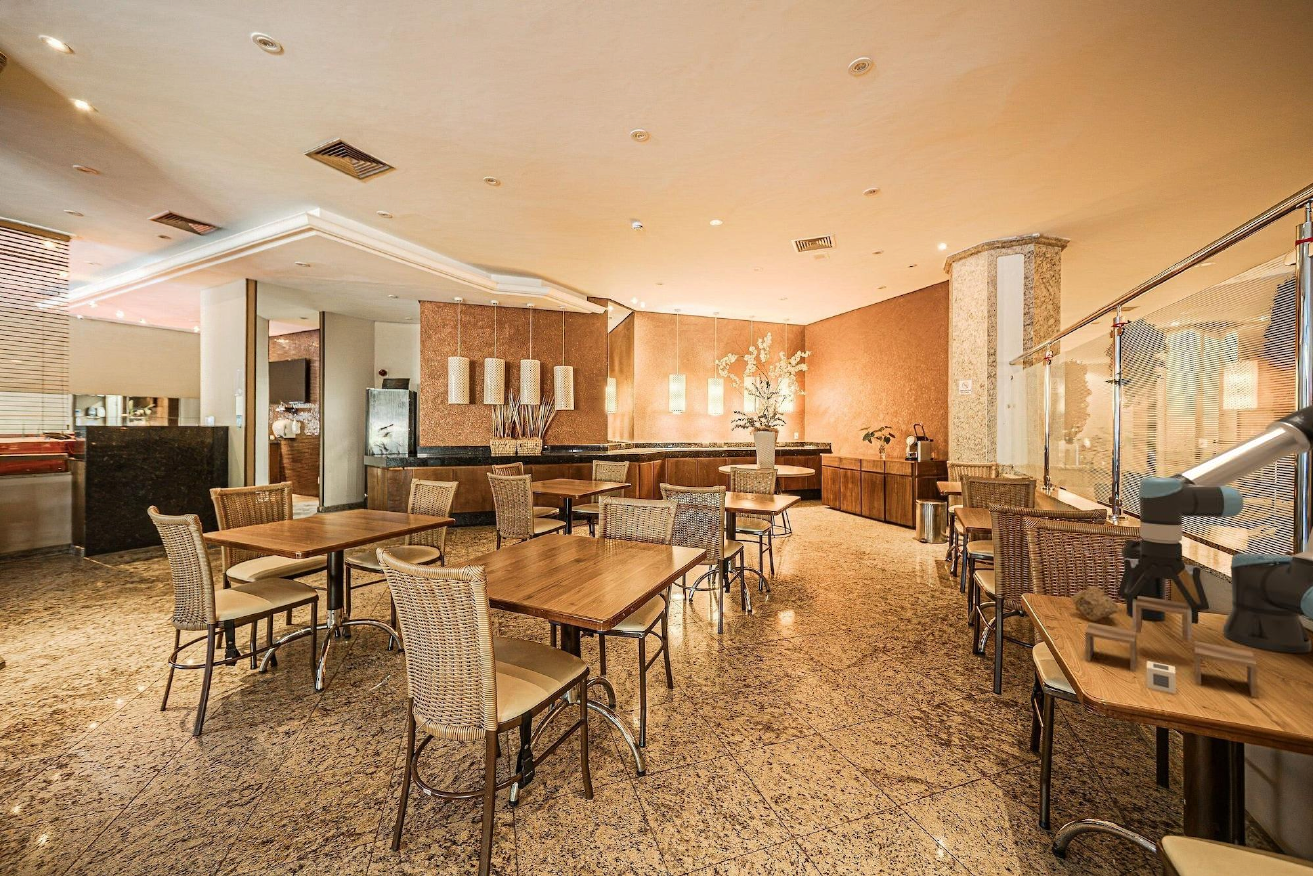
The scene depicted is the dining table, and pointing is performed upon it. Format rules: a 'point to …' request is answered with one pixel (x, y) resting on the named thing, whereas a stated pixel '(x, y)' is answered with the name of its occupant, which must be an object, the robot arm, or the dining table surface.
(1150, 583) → the water bottle
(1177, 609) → the cover
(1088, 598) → the rock
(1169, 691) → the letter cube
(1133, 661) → the cover
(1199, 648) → the cover
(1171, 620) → the dining table surface
